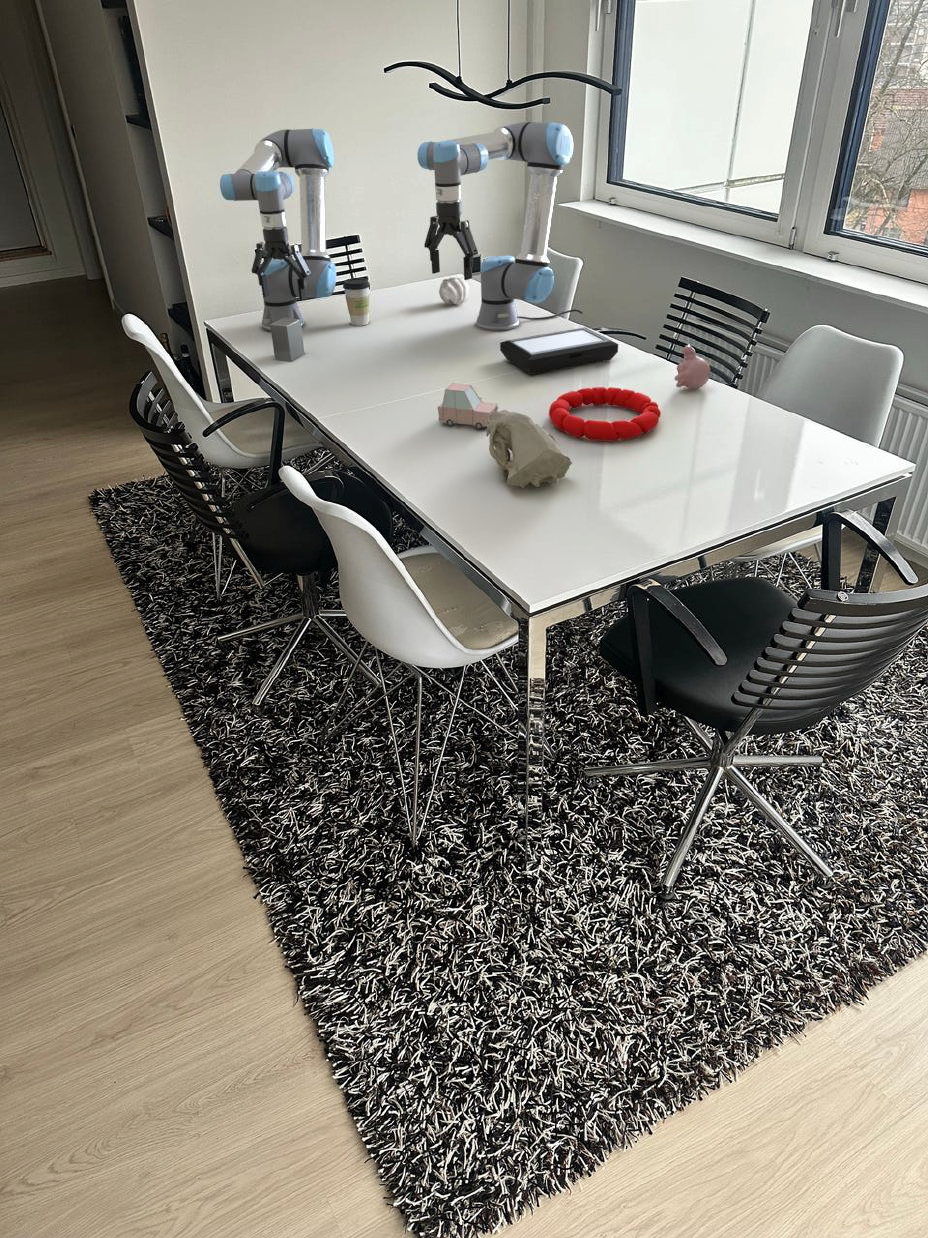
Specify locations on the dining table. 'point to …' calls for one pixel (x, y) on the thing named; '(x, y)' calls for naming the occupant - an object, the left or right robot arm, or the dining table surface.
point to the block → (287, 339)
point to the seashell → (453, 290)
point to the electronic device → (558, 350)
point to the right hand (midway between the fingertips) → (451, 275)
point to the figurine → (692, 370)
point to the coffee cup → (357, 300)
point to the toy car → (465, 406)
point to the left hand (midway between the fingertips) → (284, 297)
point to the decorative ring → (604, 428)
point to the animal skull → (525, 450)
